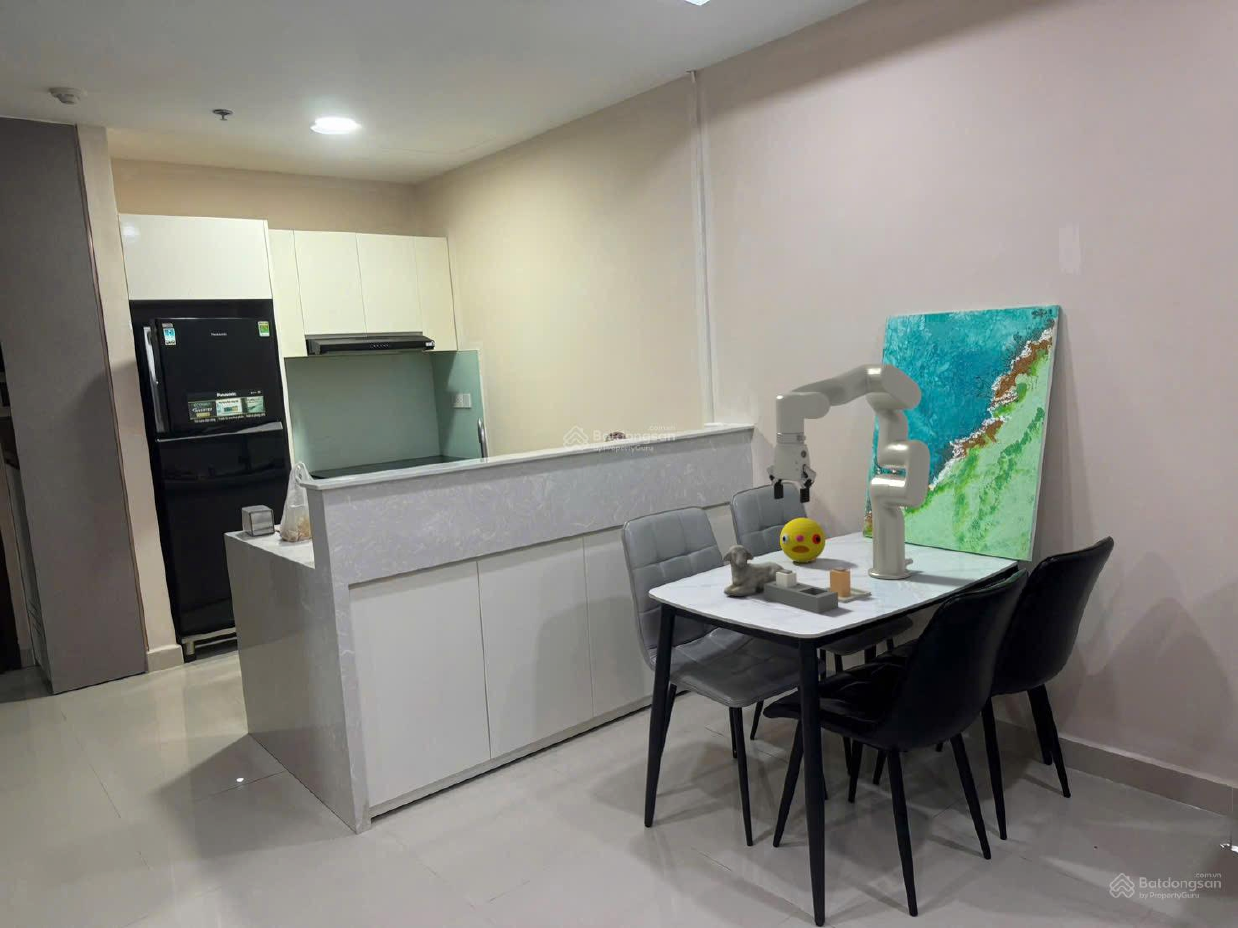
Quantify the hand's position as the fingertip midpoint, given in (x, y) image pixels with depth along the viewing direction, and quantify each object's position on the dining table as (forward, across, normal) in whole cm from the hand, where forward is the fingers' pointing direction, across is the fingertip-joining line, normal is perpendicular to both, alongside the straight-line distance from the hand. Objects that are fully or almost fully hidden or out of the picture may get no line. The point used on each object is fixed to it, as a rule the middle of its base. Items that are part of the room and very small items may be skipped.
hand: (791, 500), depth 227 cm
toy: (+29, +31, -37) cm, 57 cm away
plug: (+29, -4, -14) cm, 32 cm away
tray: (+29, -4, -14) cm, 33 cm away
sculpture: (+30, +16, -1) cm, 34 cm away
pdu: (+29, -2, 0) cm, 29 cm away
